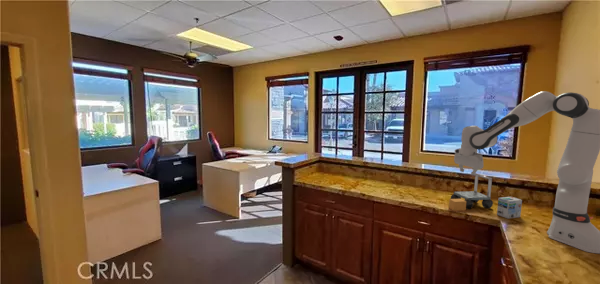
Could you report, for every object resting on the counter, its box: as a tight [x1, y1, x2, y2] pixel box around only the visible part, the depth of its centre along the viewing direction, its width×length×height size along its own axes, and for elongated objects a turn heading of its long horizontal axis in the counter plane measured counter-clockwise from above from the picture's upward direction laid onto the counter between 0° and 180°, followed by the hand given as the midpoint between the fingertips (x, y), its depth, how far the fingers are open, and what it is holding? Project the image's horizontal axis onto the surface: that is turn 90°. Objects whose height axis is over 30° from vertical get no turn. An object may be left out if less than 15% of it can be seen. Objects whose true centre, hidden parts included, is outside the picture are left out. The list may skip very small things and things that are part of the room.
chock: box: [448, 198, 467, 212], centre depth 168 cm, size 5×8×6 cm, turn 97°
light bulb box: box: [496, 196, 523, 219], centre depth 157 cm, size 11×7×11 cm, turn 105°
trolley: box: [450, 172, 494, 210], centre depth 174 cm, size 13×20×20 cm, turn 97°
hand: (467, 173), depth 165 cm, fingers open, 8 cm apart
